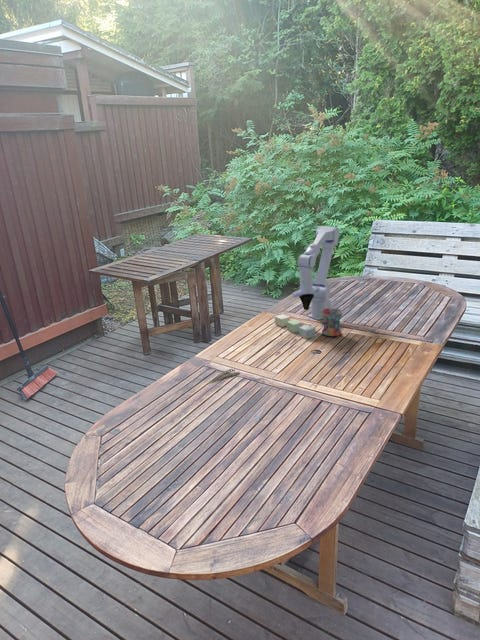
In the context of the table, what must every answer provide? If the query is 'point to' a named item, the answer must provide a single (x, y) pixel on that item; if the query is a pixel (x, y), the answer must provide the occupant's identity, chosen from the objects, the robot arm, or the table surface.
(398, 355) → the table surface
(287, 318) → the block cream
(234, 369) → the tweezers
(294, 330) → the block sage
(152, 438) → the table surface
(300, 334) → the block bluegrey
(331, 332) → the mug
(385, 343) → the table surface
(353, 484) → the table surface
